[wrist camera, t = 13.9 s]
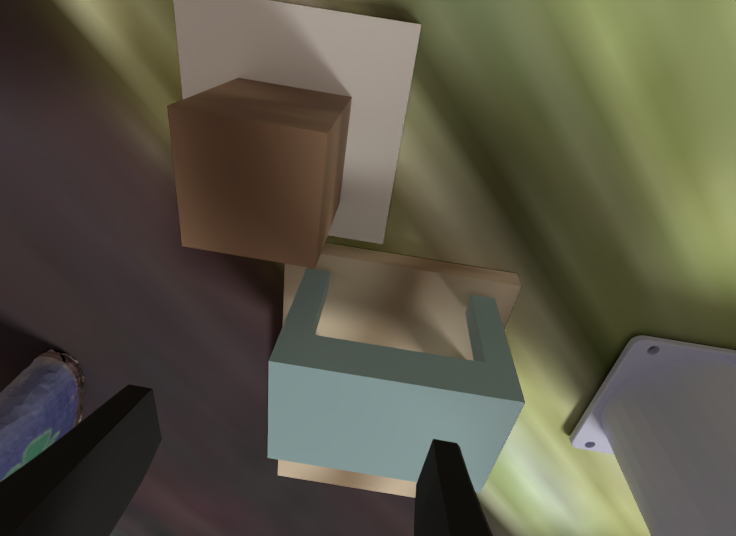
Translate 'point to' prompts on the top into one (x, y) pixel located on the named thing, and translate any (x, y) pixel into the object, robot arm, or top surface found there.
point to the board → (395, 320)
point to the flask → (39, 409)
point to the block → (259, 169)
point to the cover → (387, 395)
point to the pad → (314, 81)
